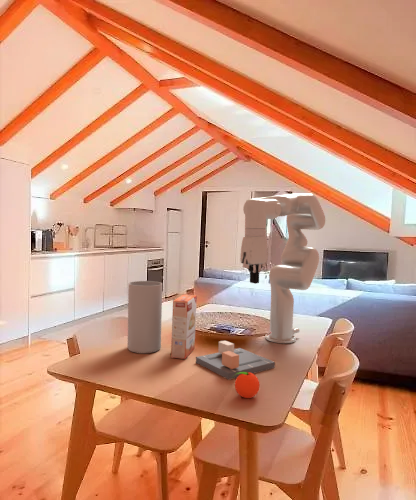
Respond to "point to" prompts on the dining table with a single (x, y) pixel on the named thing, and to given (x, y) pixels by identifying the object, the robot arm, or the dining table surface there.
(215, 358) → the fader panel
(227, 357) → the terracotta fader
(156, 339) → the cylinder vase
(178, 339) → the cracker box
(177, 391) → the dining table surface
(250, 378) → the clementine
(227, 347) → the ivory fader
